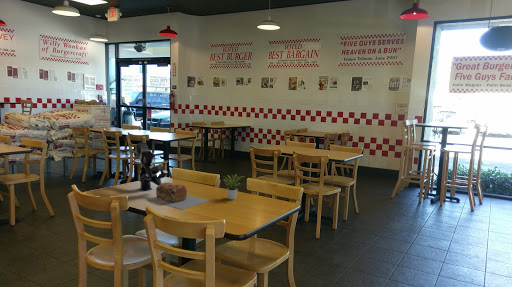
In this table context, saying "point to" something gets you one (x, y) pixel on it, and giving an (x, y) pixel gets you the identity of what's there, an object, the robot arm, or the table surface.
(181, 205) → the serving mat
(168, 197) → the bread
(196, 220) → the table surface
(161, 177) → the robot arm
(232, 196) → the house plant
